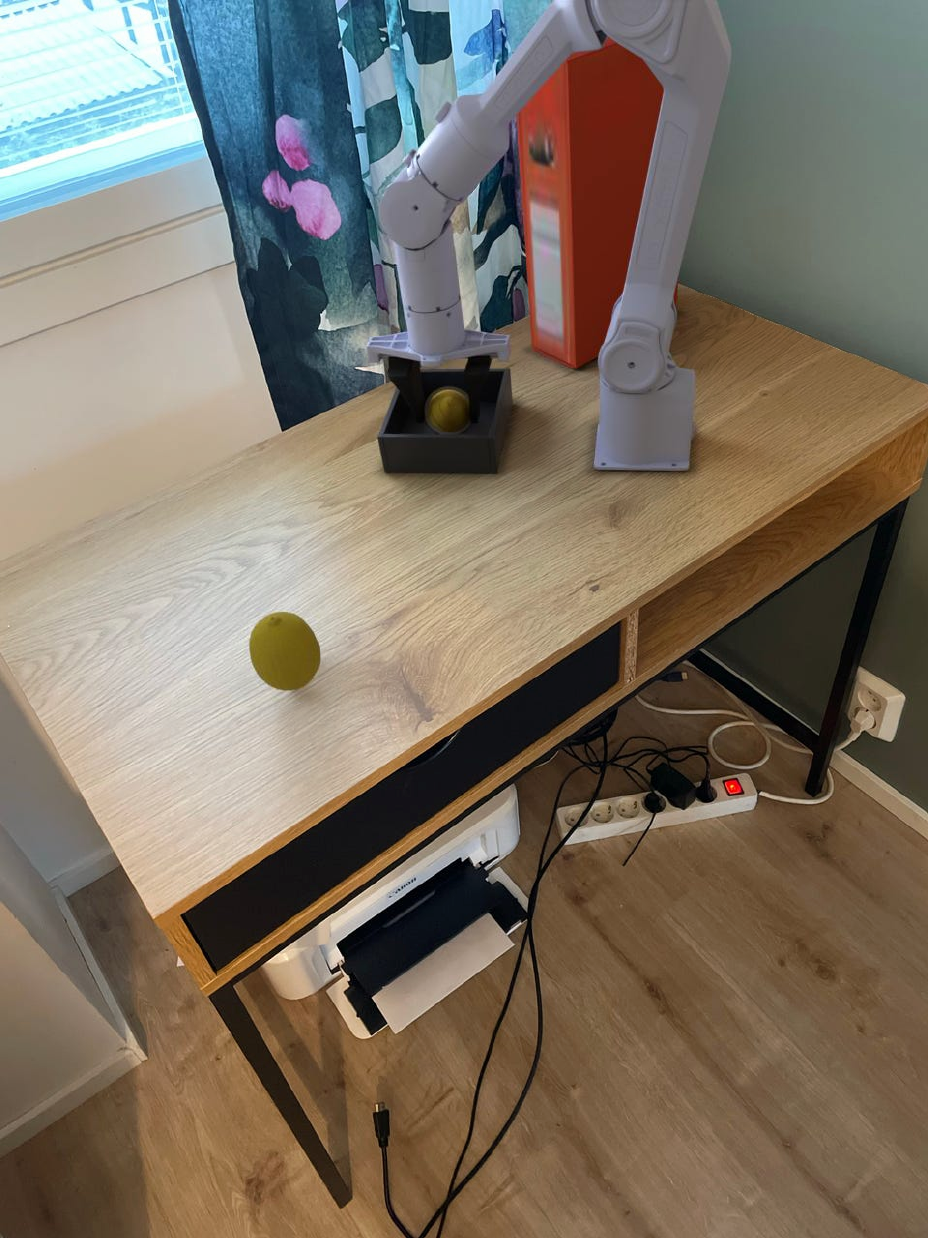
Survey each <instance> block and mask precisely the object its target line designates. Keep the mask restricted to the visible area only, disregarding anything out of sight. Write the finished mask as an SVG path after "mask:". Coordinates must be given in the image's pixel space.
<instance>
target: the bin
mask: <svg viewBox="0 0 928 1238" xmlns="http://www.w3.org/2000/svg"><path fill="white" fill-rule="evenodd" d="M464 369H465V368H420V371H421V382H422V388H423V393H424V397H425V403H426V401H427V399H428V397H429V396H430V395H431V393H433V392H434V391H435V390H437V389H439V388H441V387H445V386H453V387H457V388H459V389H461V390H463V391H464V392H466V393H467V395H468V392H467V387H466V383H465V379H464V375H463V373H464ZM511 374H512V373H511V368H510V367H509V368H508V367H507V368H506V367H505V368H490V370H489V373H488V376H487V379H486V381H485V384H484V386H483V389H482V395H481V402H480V416H479V420H478V423H471V425H470V426H469V428H468V429H467V430H466V431H465V432H464V433H462V434H436V433H435V432H433V431H432V430H431V429H430V427H429V426H428V424H427V422H426V419H425V418H424V421H423V423H417V421H416V419H415V416H414V414H413V412H412V410H411V408H410V406H409V404H408V402H407V401H406V399H405V398H404V396H403V395H402V393H401V392H400V391H399V389H398V388H397V387H396V386H395V390H394V392H393V395H392V397H391V400H390V403H389V406H388V408H387V410H386V413H385V415H384V418H383V421H382V423H381V426H380V429H379V431H378V434H377V436H376V439H377V444H378V449H379V452H380V458H381V464H382V468H383V472H384V473H406V474H407V473H408V474H417V473H418V474H476V475H477V474H480V475H481V474H487V475H488V474H489V475H490V474H491V475H497V474H498V472H499V466H500V463H501V459H502V453H503V449H504V445H505V440H506V437H507V431H508V426H509V423H510V418H511V414H512V409H513V404H514V401H513V389H512V387H513V386H512V375H511Z"/></svg>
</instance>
